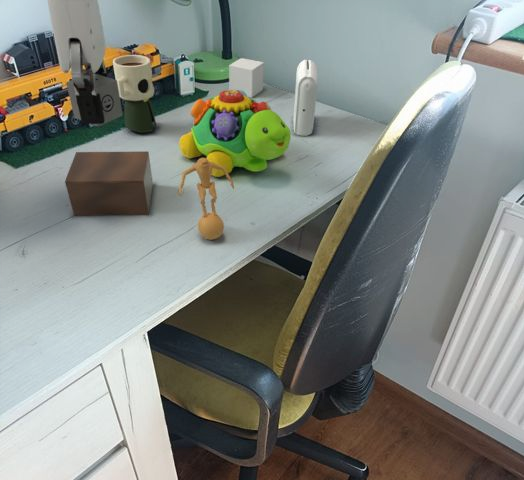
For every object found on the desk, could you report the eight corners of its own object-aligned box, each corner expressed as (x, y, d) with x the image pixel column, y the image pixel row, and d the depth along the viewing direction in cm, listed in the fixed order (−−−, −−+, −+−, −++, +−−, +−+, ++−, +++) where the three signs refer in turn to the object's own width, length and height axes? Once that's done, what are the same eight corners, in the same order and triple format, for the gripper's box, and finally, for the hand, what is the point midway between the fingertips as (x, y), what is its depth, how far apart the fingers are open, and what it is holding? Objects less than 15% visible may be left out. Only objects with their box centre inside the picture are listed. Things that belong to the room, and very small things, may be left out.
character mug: (144, 142, 102) (134, 72, 93) (112, 136, 104) (99, 66, 94) (168, 121, 110) (161, 54, 100) (138, 116, 111) (129, 49, 102)
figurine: (188, 248, 78) (181, 174, 69) (180, 227, 82) (172, 154, 73) (240, 240, 80) (240, 167, 71) (230, 219, 84) (228, 148, 75)
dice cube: (74, 118, 77) (66, 82, 73) (99, 107, 80) (92, 72, 76) (98, 126, 75) (90, 90, 71) (122, 115, 78) (116, 80, 74)
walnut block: (74, 215, 83) (64, 181, 79) (84, 185, 90) (75, 151, 86) (148, 214, 84) (143, 180, 80) (153, 184, 91) (148, 151, 87)
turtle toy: (243, 201, 88) (243, 133, 79) (170, 151, 100) (163, 87, 92) (315, 172, 96) (322, 107, 87) (238, 129, 108) (238, 68, 99)
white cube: (263, 89, 124) (264, 62, 120) (251, 97, 120) (252, 70, 116) (241, 84, 126) (241, 57, 121) (229, 92, 122) (228, 65, 117)
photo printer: (313, 137, 106) (319, 72, 97) (292, 136, 106) (297, 71, 97) (312, 116, 113) (318, 54, 104) (293, 115, 113) (297, 53, 104)
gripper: (51, -48, 70) (81, 90, 83) (19, -19, 58) (60, 137, 71) (107, -47, 70) (129, 90, 83) (87, -18, 58) (116, 137, 71)
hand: (97, 111), depth 77 cm, fingers closed on dice cube, 7 cm apart
